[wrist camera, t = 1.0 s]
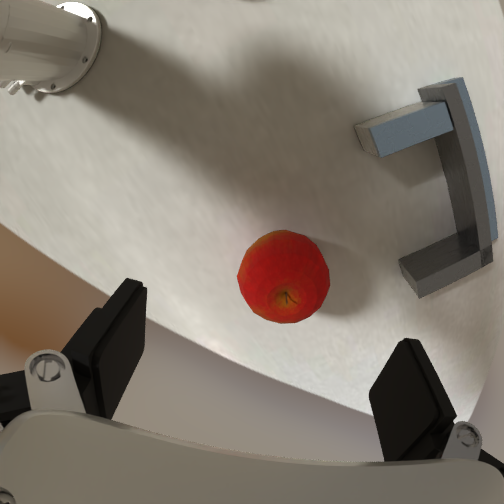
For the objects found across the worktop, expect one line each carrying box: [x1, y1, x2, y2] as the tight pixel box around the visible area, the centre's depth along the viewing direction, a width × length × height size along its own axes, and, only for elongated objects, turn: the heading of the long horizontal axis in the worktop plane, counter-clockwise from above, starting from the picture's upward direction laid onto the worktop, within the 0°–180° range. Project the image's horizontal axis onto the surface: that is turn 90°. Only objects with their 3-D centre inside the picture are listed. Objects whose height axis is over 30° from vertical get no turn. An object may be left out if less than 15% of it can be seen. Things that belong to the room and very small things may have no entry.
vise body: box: [399, 77, 498, 299], centre depth 32 cm, size 16×22×6 cm
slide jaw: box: [354, 102, 453, 158], centre depth 29 cm, size 9×3×6 cm, turn 116°
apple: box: [237, 230, 330, 324], centre depth 34 cm, size 9×9×12 cm
